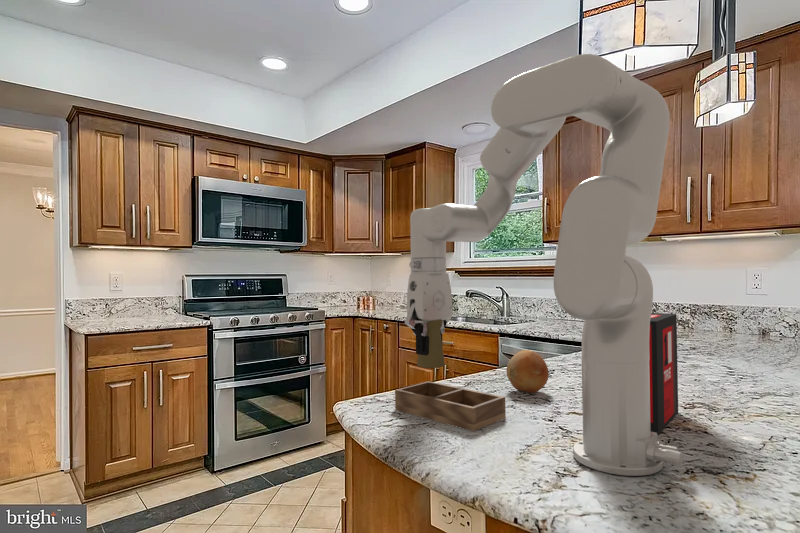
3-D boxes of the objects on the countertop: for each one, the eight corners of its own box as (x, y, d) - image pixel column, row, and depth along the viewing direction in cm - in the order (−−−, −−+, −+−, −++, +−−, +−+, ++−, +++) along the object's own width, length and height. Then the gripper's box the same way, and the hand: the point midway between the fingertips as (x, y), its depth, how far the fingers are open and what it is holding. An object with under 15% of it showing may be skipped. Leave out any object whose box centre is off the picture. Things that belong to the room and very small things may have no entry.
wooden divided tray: (505, 418, 95) (505, 397, 95) (473, 431, 88) (473, 408, 88) (428, 399, 110) (428, 381, 110) (395, 409, 102) (395, 389, 102)
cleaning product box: (658, 435, 84) (656, 321, 85) (605, 425, 90) (604, 318, 90) (678, 413, 97) (676, 314, 97) (631, 405, 103) (629, 312, 103)
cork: (443, 368, 99) (442, 314, 99) (414, 367, 100) (413, 314, 100) (446, 362, 105) (445, 312, 105) (419, 361, 106) (418, 312, 106)
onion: (498, 392, 115) (497, 350, 115) (522, 385, 122) (521, 345, 122) (533, 400, 108) (532, 355, 108) (556, 392, 114) (556, 350, 115)
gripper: (414, 267, 94) (415, 361, 94) (466, 266, 105) (467, 350, 105) (388, 267, 99) (388, 356, 99) (440, 266, 111) (441, 346, 111)
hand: (429, 352), depth 102 cm, fingers closed on cork, 3 cm apart
